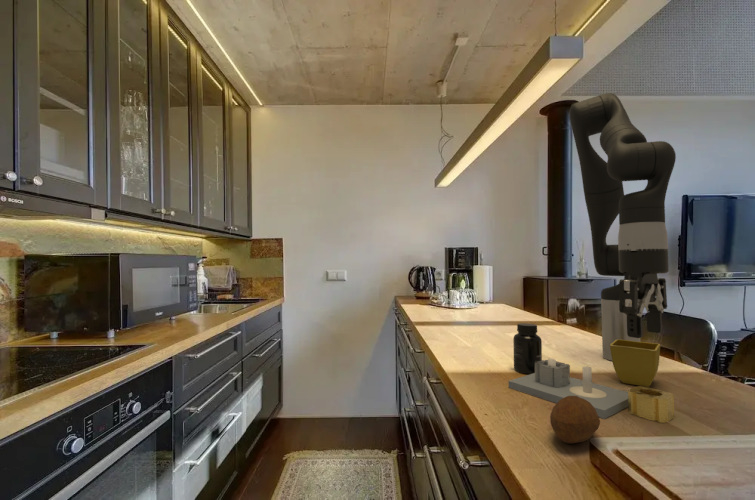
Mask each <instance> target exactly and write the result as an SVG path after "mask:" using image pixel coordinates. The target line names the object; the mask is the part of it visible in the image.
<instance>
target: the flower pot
mask: <svg viewBox="0 0 755 500" xmlns="http://www.w3.org/2000/svg"><path fill="white" fill-rule="evenodd" d="M610 350H611V356H612V366H613V369H614V371H615V373H616V375H617V378H619V380H620V381H621V383H623V384H629V385H635V386H644V387H647V388H650V386H651V385H652V383H653V381H654V379H655V377H656V375H657V373H658V370H659V365H660V354H661V344H660V343H655V342H646V341H641V342H637V341H629V340H619V339H616V340H615V341H614V342H613V343H611V344H610Z"/></svg>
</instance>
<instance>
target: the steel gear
mask: <svg viewBox="0 0 755 500" xmlns="http://www.w3.org/2000/svg"><path fill="white" fill-rule="evenodd" d="M570 366H571V365H570V364H568V363H565V362H561V361H557V360H556V366H549V365H548V359H542V361H538V362H537V363H535V381H536V382H539V383H541V384H544V385H548V386H554V387H556V388H560V387H563V386H566V385H568V384H570V377H571V370H570V369H571V367H570Z"/></svg>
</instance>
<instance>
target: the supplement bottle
mask: <svg viewBox="0 0 755 500" xmlns="http://www.w3.org/2000/svg"><path fill="white" fill-rule="evenodd" d="M516 331H517V333H516V334H514V336H513V340H512V341H513V369H514V371H516V372H518V373H520V374H526V375H530V374H533V373H535V363H537V362H538V361H542V360H543V358H542V357H543V353H542V352H543V351H542V350H543V347H542V346H543V345H542V338H541V337H540V336H539V335H538V334H537V333H538V325H537V324H534V323H527V322H526V323H525V322H523V323H522V322H521V323H517V324H516Z"/></svg>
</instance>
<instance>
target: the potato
mask: <svg viewBox="0 0 755 500" xmlns="http://www.w3.org/2000/svg"><path fill="white" fill-rule="evenodd" d="M549 417H550V418H549V419H550V420H549V421H550V427H551V429H552V430H553V432H554V434H555V435H556V436H557V438H558V439H559V440H560V441H561V442H563V443H565V444H571V445H573V444H576V443H583V442H585V441H587V440H589V439H590V438H591V437H592V436H593V435H594V434H595V433H596V432H597V430H598V429H599V427H600V424H601V421H600V417H598V414H597V412H596V409H595V408H594V407H593V406H592V404H591V403H590V402H588V401H587V400H585V399H583V398H580V397H578V396H567V397H565V398H563V399H561V400H559V402H558V403H555V405H554V406H553V407H552V410H551V412H550V416H549Z"/></svg>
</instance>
